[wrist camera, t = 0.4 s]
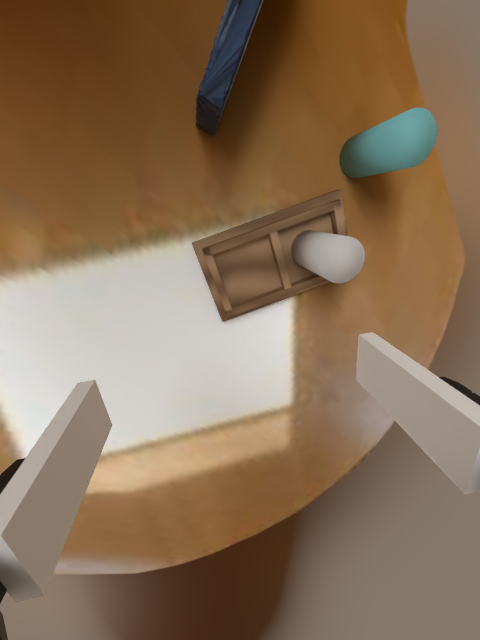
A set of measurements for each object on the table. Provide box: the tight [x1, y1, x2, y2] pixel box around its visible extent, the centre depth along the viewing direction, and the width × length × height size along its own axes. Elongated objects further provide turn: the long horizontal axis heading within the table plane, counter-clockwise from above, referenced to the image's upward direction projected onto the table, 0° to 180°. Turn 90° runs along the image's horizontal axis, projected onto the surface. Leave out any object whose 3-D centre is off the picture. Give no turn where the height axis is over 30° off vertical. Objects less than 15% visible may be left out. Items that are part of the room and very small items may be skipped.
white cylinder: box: [291, 230, 365, 283], centre depth 34 cm, size 5×5×10 cm
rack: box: [192, 190, 348, 322], centre depth 38 cm, size 12×21×2 cm, turn 109°
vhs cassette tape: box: [196, 0, 264, 135], centre depth 25 cm, size 18×3×10 cm, turn 154°
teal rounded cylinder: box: [340, 108, 437, 178], centre depth 31 cm, size 5×5×10 cm
